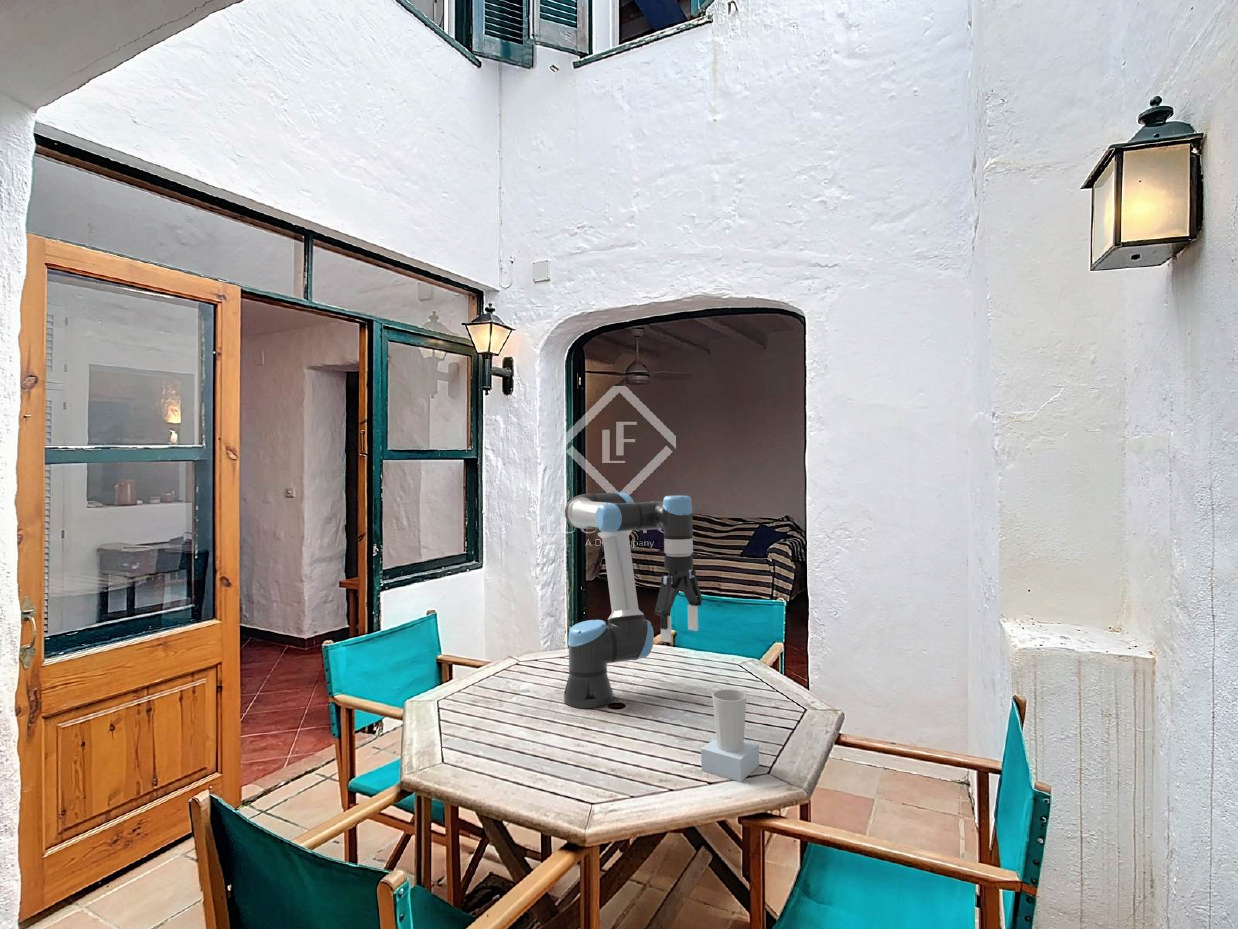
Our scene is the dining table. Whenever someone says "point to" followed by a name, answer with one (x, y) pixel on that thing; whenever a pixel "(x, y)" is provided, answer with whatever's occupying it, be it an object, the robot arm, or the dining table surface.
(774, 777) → the dining table surface
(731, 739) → the cup
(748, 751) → the pedestal block
